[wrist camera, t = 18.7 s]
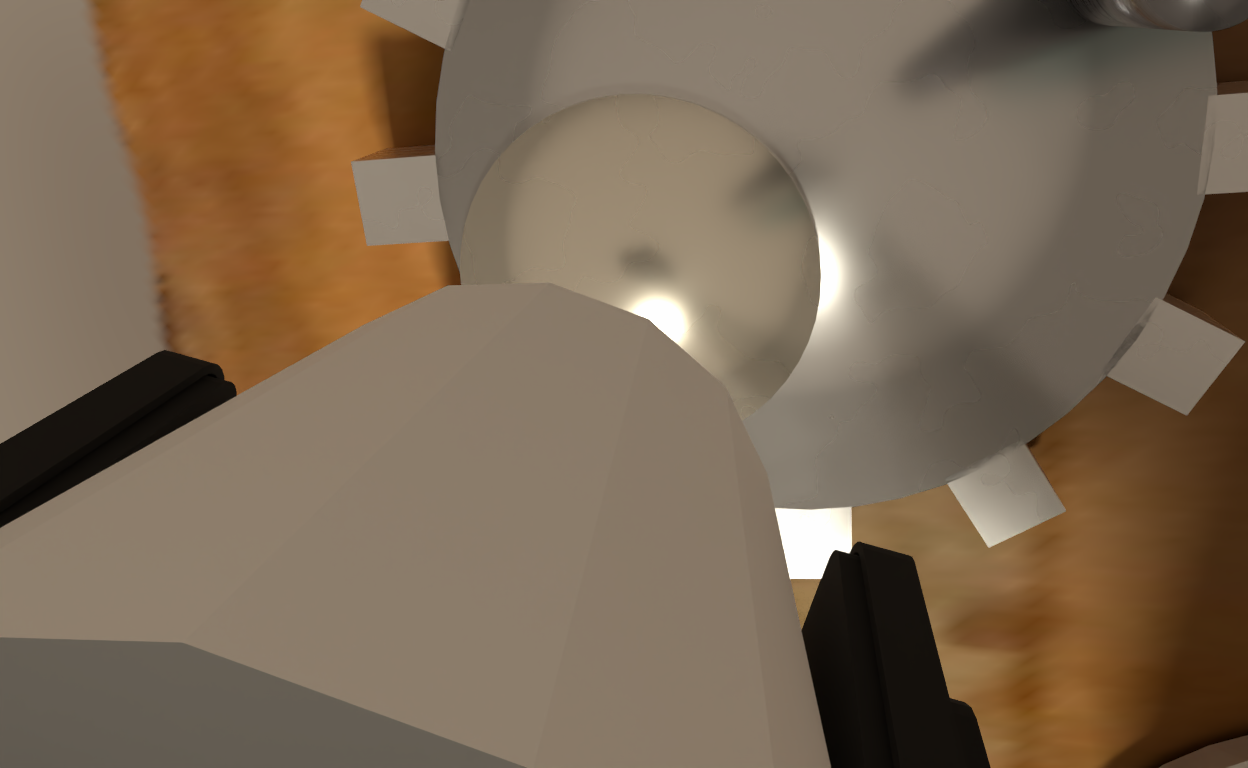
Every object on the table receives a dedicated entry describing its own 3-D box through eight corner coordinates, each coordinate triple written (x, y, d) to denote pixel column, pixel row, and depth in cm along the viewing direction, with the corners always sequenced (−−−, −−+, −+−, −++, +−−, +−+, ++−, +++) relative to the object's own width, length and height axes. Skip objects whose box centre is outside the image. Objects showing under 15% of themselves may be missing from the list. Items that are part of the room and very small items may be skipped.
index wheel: (683, 646, 26) (658, 820, 20) (224, 47, 22) (37, 61, 16) (1426, 280, 20) (1675, 387, 14) (988, -641, 16) (1102, -986, 10)
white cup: (127, 442, 11) (-689, 1019, 5) (571, 78, 9) (134, 273, 3) (494, 825, 13) (230, 1642, 7) (950, 592, 11) (1232, 1484, 4)
